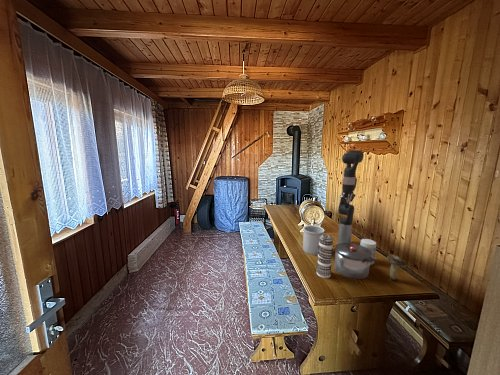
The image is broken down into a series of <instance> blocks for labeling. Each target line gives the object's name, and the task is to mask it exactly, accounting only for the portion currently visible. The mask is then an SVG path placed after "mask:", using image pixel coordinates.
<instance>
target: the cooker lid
mask: <svg viewBox="0 0 500 375" xmlns="http://www.w3.org/2000/svg"><path fill="white" fill-rule="evenodd" d="M334 248H335V249H334V250H335V253H336V252H337V253H338V254H340V255H342V256H344V257H346V258H350V259H354V260H365V261H367V262H371V261H374V262H375V259H374V258H372V252H371V251H370V250H369V249H367V248H366V247H364V246H361V245H360V244H357V243H355V242H354V243H352V242H351V243H339V244H338V243H337V244H336V245H334Z"/></svg>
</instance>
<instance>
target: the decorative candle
mask: <svg viewBox="0 0 500 375" xmlns="http://www.w3.org/2000/svg"><path fill="white" fill-rule="evenodd" d="M319 238H320V242H319V243H318V255H317V258H318V259H317V262H316V270H315V271H316V275H317V276H319V277H320V278H324V279H329V278H330V277H331V276H332V267H333V265H332V259H333V256H334V250H335V249H334V248H335V245H334V241H335V238H334V237H332V235H331V234H325V233H324V235H322V236H320V237H319Z"/></svg>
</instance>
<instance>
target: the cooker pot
mask: <svg viewBox="0 0 500 375" xmlns="http://www.w3.org/2000/svg"><path fill="white" fill-rule="evenodd" d="M334 254H335V255H334V265H333V267H334V270H335V271H336V272H337V273H338V274H340V275H341V276H344V277H347V278H350V279H355V280H357V279H358V280H362V279H366V278H368V276H369V273H370V266H371V265H370V262H367V261H365V260H354V259H350V258H346V257H344V256H342V255H340V254H338V253H337V252H336V251H335V253H334Z"/></svg>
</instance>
